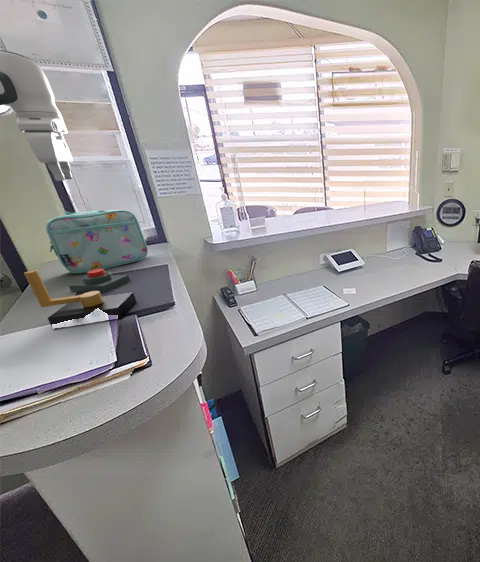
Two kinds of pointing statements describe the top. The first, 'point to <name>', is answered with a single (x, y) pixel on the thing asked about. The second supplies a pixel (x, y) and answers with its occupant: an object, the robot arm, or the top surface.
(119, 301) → the valve block
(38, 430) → the top surface
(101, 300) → the crank handle
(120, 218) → the lunch box
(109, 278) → the control box
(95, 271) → the red button
